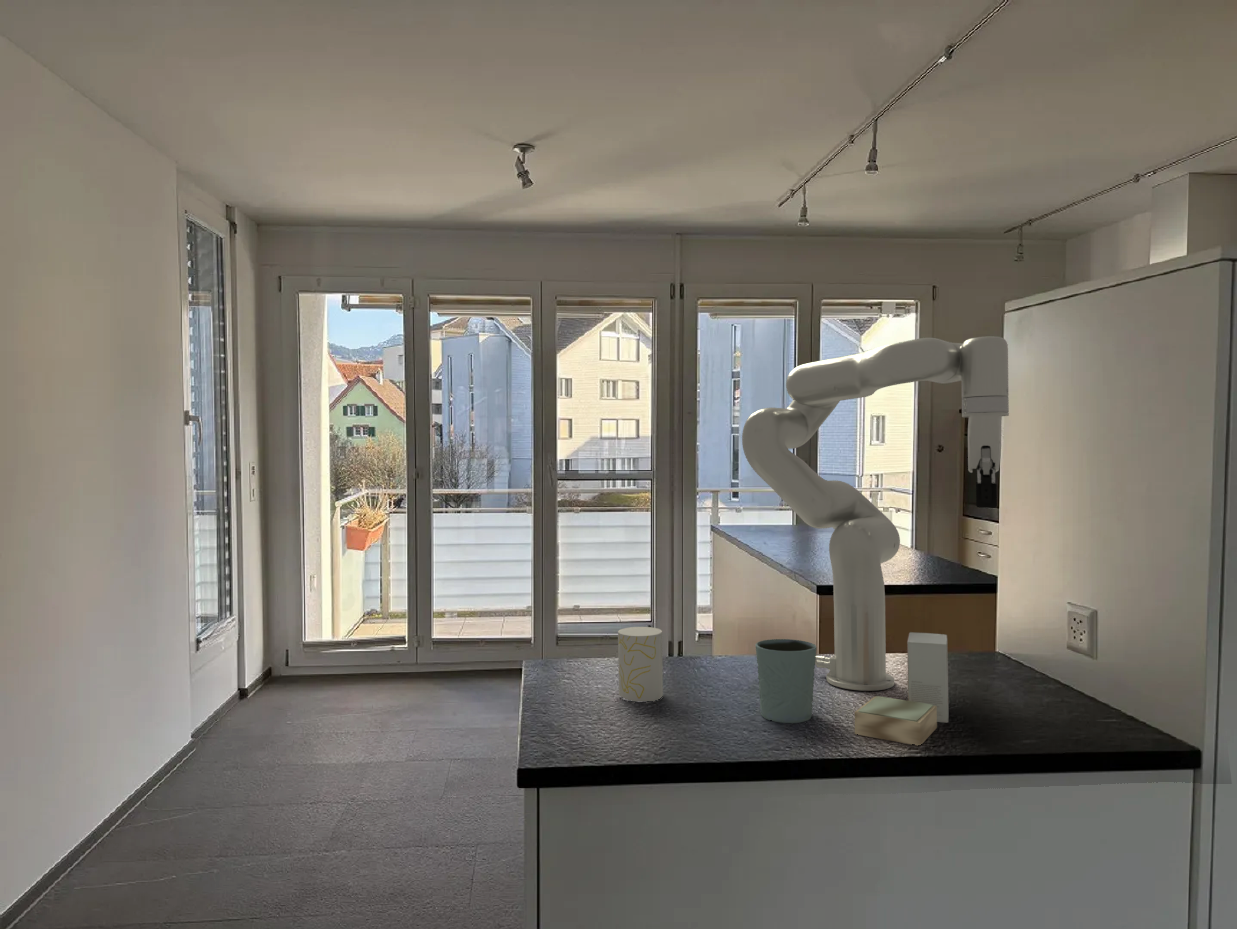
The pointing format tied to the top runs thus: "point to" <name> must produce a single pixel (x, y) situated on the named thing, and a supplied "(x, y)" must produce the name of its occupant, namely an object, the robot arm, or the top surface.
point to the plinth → (896, 720)
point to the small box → (928, 671)
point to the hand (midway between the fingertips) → (986, 505)
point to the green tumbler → (786, 679)
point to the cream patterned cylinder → (640, 663)
